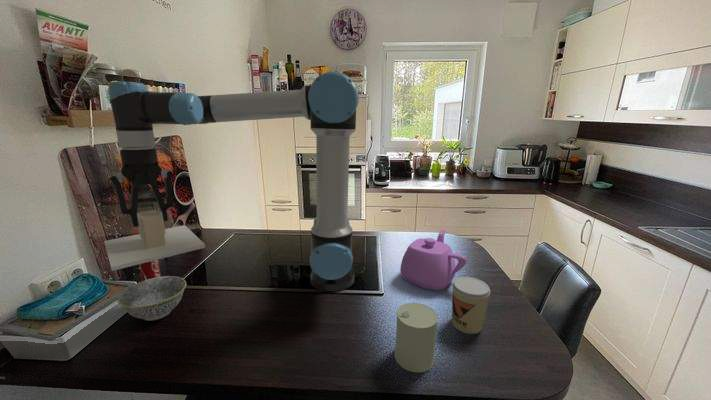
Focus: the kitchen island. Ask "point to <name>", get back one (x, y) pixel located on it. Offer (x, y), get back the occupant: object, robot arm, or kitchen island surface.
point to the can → (415, 337)
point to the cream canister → (469, 304)
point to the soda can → (150, 270)
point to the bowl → (153, 297)
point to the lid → (151, 243)
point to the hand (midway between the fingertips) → (152, 234)
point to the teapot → (430, 263)
